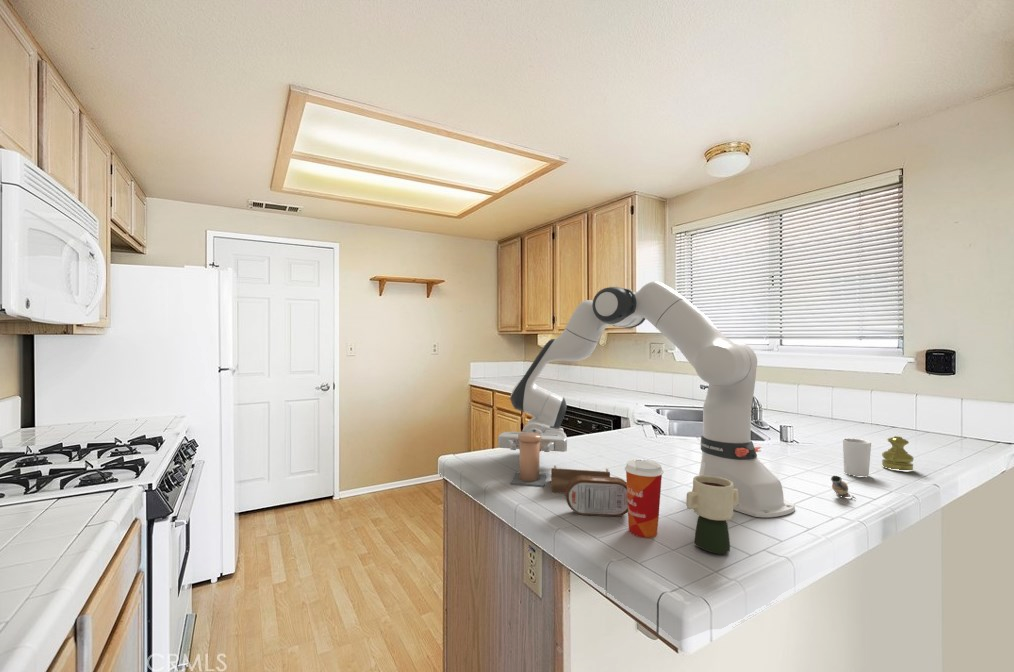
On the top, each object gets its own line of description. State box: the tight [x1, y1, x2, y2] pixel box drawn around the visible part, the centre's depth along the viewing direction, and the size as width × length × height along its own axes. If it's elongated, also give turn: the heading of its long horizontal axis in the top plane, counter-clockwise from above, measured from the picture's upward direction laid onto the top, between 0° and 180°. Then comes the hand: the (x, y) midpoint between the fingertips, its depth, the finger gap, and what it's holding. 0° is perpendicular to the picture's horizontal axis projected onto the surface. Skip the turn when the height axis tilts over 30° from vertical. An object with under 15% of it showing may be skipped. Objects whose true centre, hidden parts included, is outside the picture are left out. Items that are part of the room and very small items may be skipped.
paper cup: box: [624, 459, 664, 539], centre depth 93 cm, size 8×8×14 cm
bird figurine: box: [830, 475, 857, 500], centre depth 114 cm, size 5×5×6 cm
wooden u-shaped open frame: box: [550, 465, 611, 494], centre depth 119 cm, size 10×15×6 cm
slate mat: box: [509, 472, 548, 488], centre depth 125 cm, size 9×9×1 cm
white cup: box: [842, 437, 872, 476], centre depth 134 cm, size 7×7×10 cm
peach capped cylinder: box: [518, 433, 541, 482], centre depth 125 cm, size 6×6×12 cm
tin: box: [564, 475, 628, 518], centre depth 102 cm, size 15×3×8 cm, turn 84°
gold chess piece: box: [881, 435, 915, 471], centre depth 139 cm, size 7×7×10 cm
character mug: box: [685, 475, 738, 554], centre depth 86 cm, size 11×7×13 cm, turn 102°
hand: (529, 448), depth 126 cm, fingers open, 8 cm apart
